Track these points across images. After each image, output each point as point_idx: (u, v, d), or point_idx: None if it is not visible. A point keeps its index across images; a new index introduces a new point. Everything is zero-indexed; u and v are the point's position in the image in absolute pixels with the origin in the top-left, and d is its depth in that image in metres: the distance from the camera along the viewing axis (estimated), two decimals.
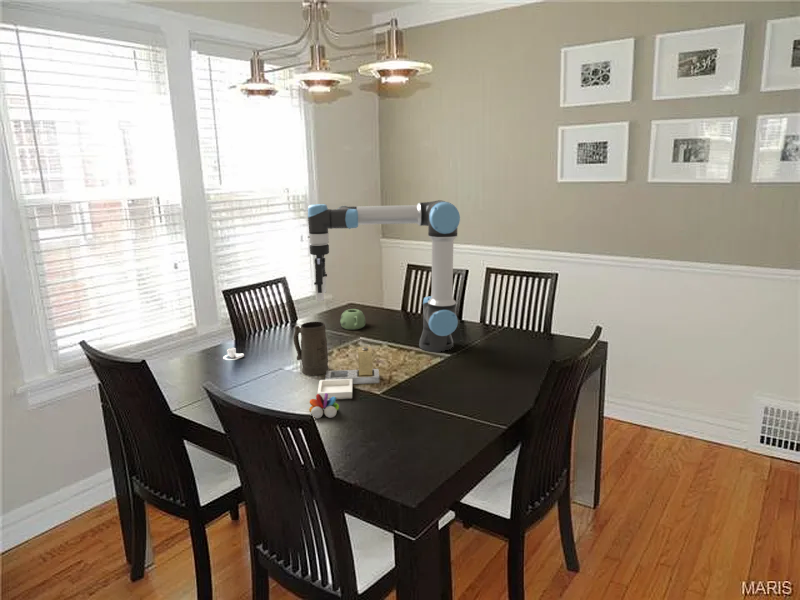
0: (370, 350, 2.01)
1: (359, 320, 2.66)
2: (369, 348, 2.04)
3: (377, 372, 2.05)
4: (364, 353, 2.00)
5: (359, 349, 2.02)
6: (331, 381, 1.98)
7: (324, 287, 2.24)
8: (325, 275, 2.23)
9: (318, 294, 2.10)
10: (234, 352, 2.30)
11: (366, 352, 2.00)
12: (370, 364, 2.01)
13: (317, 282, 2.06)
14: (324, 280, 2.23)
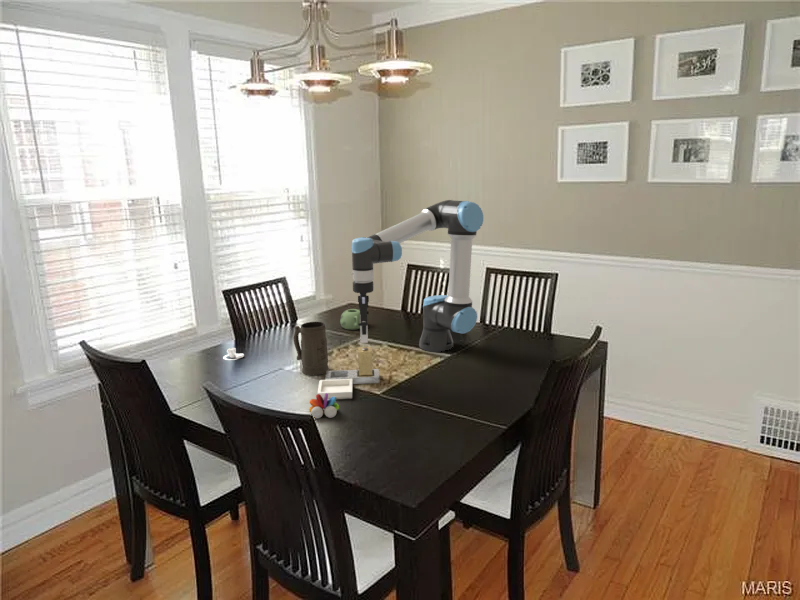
0: (370, 350, 2.01)
1: (359, 320, 2.66)
2: (369, 348, 2.04)
3: (377, 372, 2.05)
4: (364, 353, 2.00)
5: (359, 349, 2.03)
6: (331, 381, 1.98)
7: None
8: (366, 313, 2.07)
9: (362, 336, 1.93)
10: (234, 352, 2.30)
11: (366, 352, 2.00)
12: (370, 364, 2.01)
13: (362, 323, 1.89)
14: None
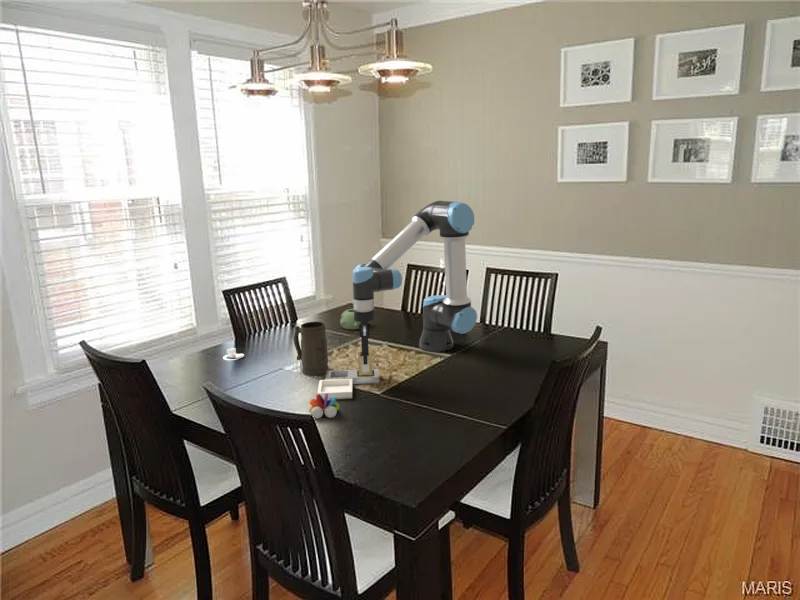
0: (370, 350, 2.01)
1: None
2: (369, 348, 2.04)
3: (377, 372, 2.05)
4: None
5: (359, 349, 2.02)
6: (331, 381, 1.98)
7: None
8: None
9: (363, 365, 2.00)
10: (234, 352, 2.30)
11: None
12: (370, 364, 2.01)
13: (363, 354, 1.96)
14: None
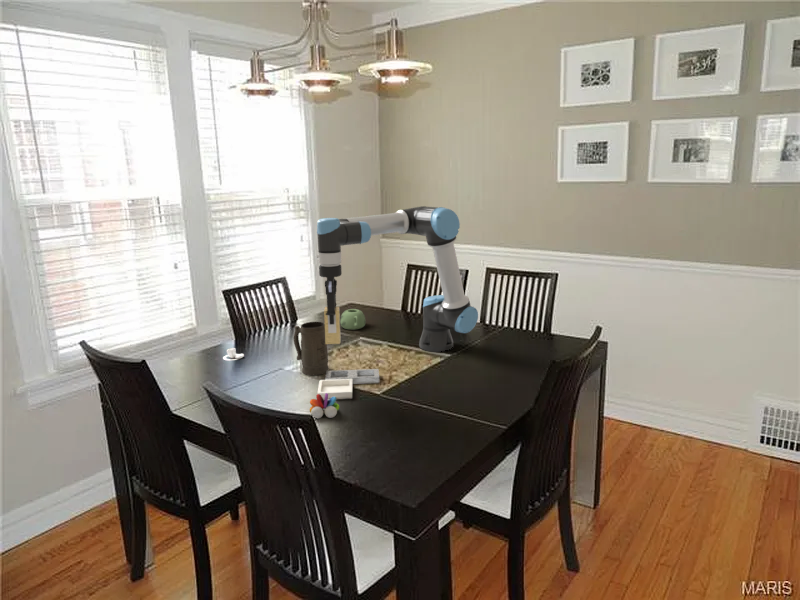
0: (337, 309, 1.85)
1: (359, 320, 2.66)
2: (336, 307, 1.87)
3: (377, 372, 2.05)
4: None
5: (325, 308, 1.86)
6: (331, 381, 1.98)
7: None
8: None
9: (330, 326, 1.84)
10: (234, 352, 2.30)
11: None
12: (337, 324, 1.85)
13: (329, 313, 1.80)
14: None
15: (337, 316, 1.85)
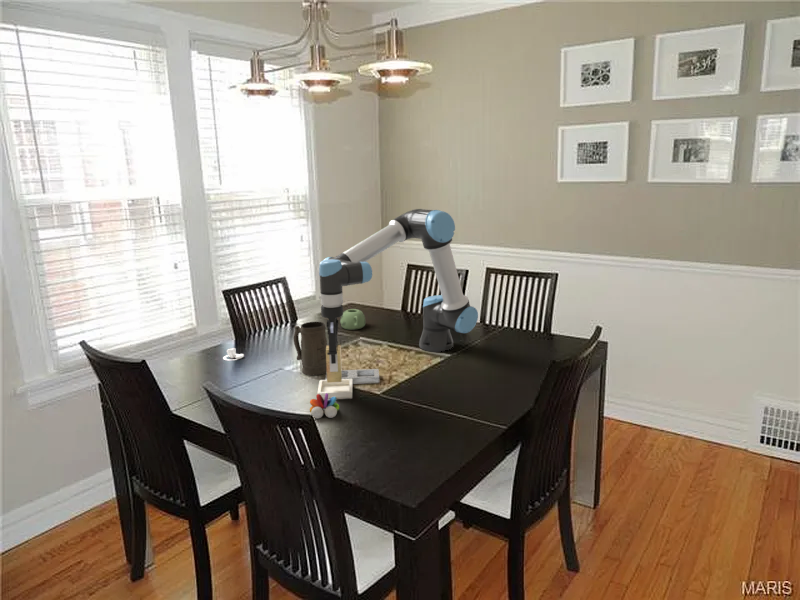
0: (339, 348, 1.89)
1: (359, 320, 2.66)
2: (338, 346, 1.91)
3: (377, 372, 2.05)
4: None
5: (327, 347, 1.90)
6: None
7: None
8: None
9: (331, 364, 1.88)
10: (234, 352, 2.29)
11: None
12: (339, 363, 1.89)
13: (331, 353, 1.84)
14: None
15: (338, 355, 1.88)
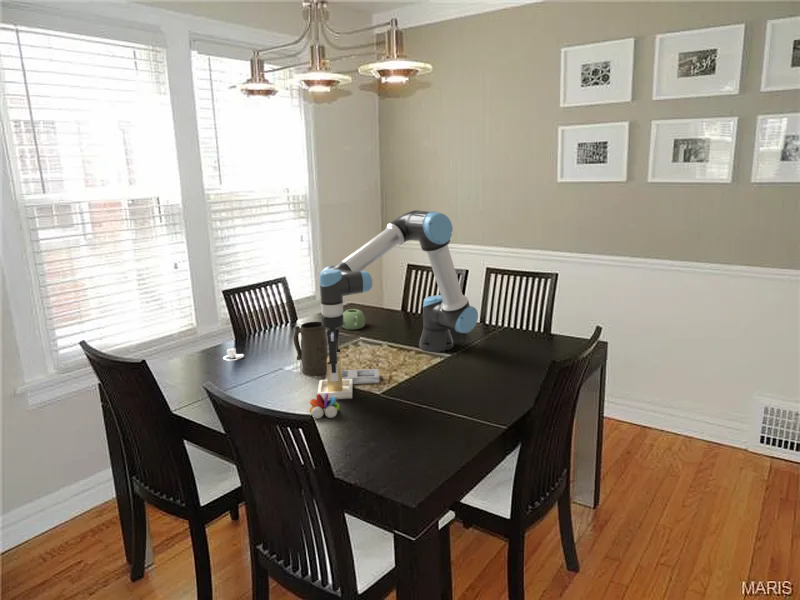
0: (339, 360, 1.90)
1: (359, 320, 2.66)
2: (339, 358, 1.92)
3: (377, 372, 2.05)
4: None
5: (328, 359, 1.91)
6: None
7: None
8: (338, 351, 1.96)
9: (332, 374, 1.87)
10: (234, 353, 2.29)
11: None
12: (339, 375, 1.90)
13: (331, 362, 1.82)
14: None
15: (339, 367, 1.89)
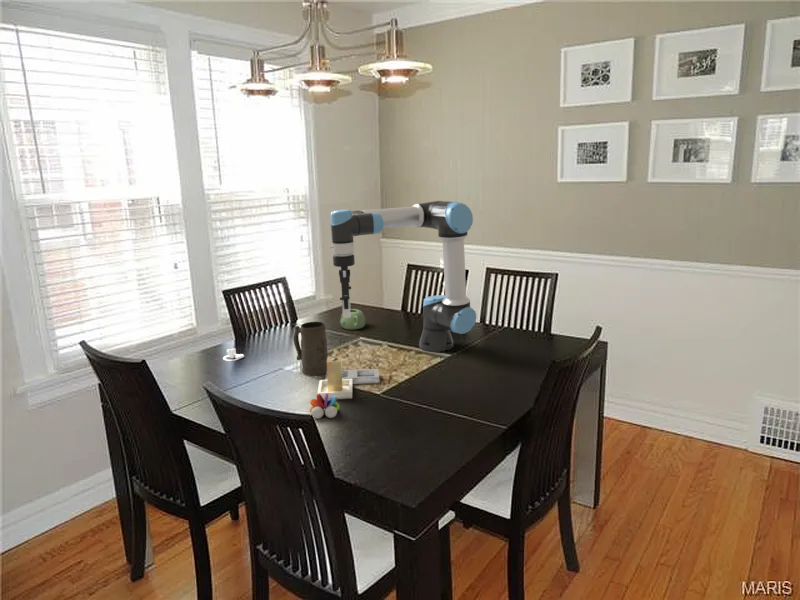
0: (339, 360, 1.90)
1: (359, 320, 2.66)
2: (339, 358, 1.92)
3: (377, 372, 2.05)
4: (333, 363, 1.89)
5: (328, 359, 1.91)
6: None
7: None
8: (349, 288, 2.02)
9: (344, 310, 1.88)
10: (234, 353, 2.29)
11: (335, 362, 1.89)
12: (339, 375, 1.90)
13: (344, 297, 1.84)
14: (348, 293, 2.01)
15: (339, 367, 1.89)
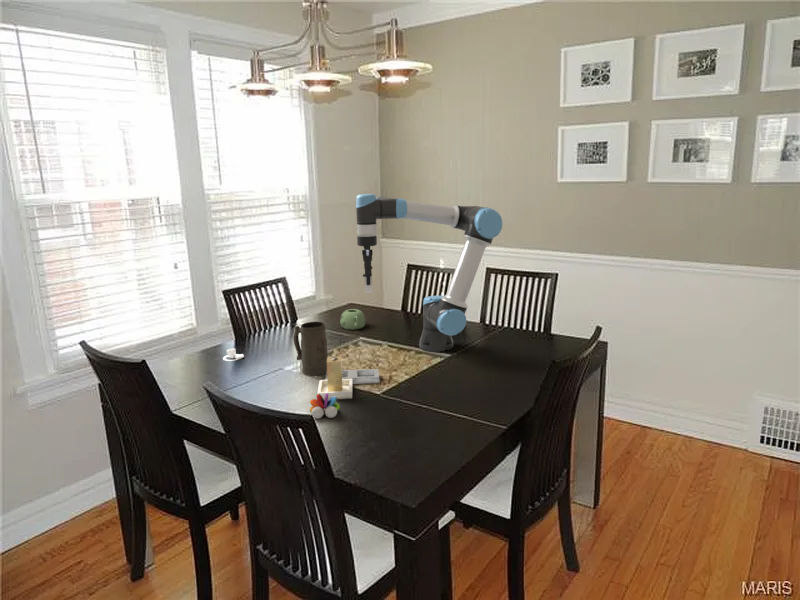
0: (339, 360, 1.90)
1: (359, 320, 2.66)
2: (339, 358, 1.92)
3: (377, 372, 2.05)
4: (333, 363, 1.89)
5: (328, 359, 1.91)
6: None
7: None
8: (370, 267, 2.18)
9: (366, 286, 2.05)
10: (234, 353, 2.29)
11: (335, 362, 1.89)
12: (339, 375, 1.90)
13: (366, 274, 2.01)
14: None
15: (339, 367, 1.89)
